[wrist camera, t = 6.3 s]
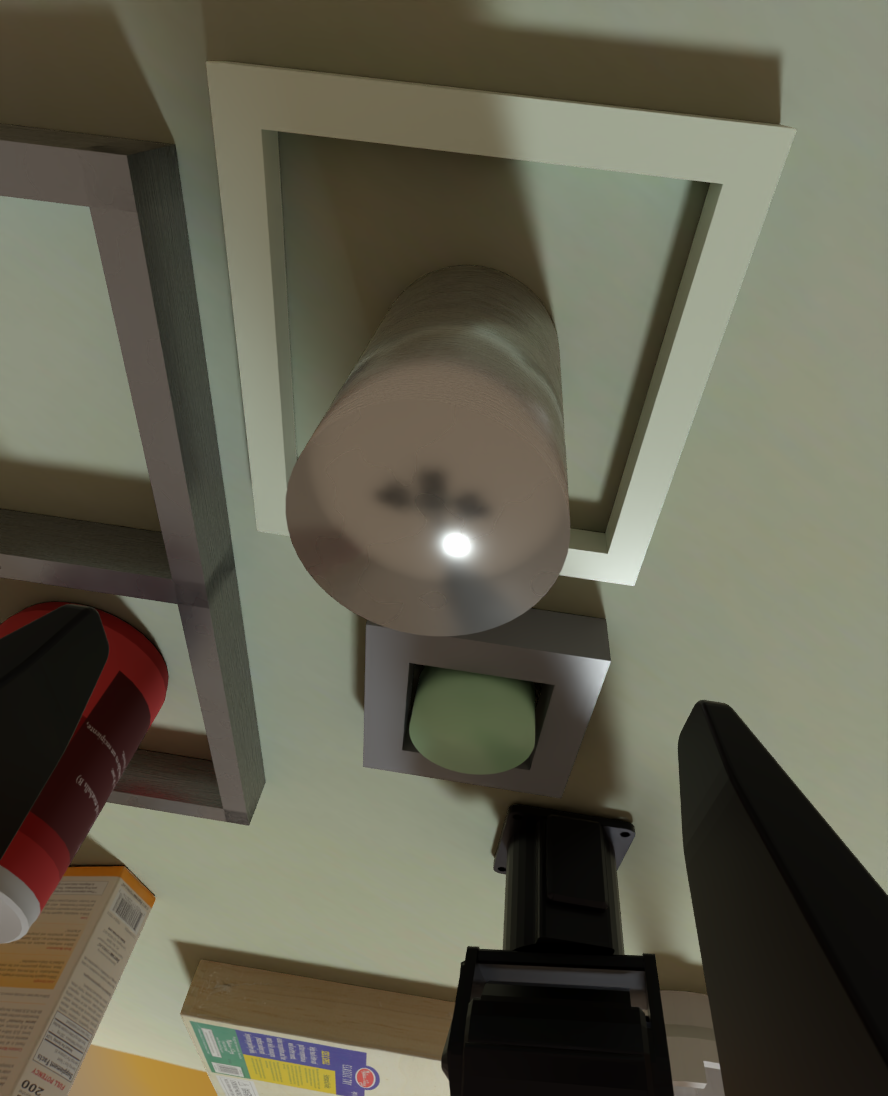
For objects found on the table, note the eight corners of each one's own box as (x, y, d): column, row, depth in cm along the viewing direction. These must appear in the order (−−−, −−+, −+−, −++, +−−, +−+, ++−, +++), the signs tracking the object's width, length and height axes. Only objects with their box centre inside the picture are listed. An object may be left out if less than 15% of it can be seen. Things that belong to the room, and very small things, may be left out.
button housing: (560, 756, 30) (561, 798, 29) (373, 726, 31) (363, 766, 29) (606, 619, 25) (610, 661, 23) (378, 585, 25) (365, 624, 24)
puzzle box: (246, 1075, 74) (452, 1115, 73) (231, 1128, 71) (447, 1170, 69) (202, 947, 52) (496, 1000, 51) (177, 1013, 49) (492, 1072, 47)
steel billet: (541, 453, 21) (541, 653, 14) (376, 430, 21) (292, 616, 14) (577, 278, 18) (601, 423, 11) (381, 253, 18) (275, 380, 11)
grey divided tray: (265, 782, 35) (248, 825, 33) (-7, 738, 36) (-39, 778, 34) (175, 144, 17) (126, 155, 15) (-374, 78, 18) (-489, 80, 16)
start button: (524, 735, 29) (523, 782, 27) (414, 718, 29) (405, 764, 27) (545, 659, 26) (545, 706, 24) (422, 640, 26) (413, 686, 24)
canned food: (-27, 621, 30) (-263, 852, 21) (94, 574, 27) (-119, 819, 18) (90, 722, 34) (-68, 954, 25) (207, 691, 31) (75, 939, 22)
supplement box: (64, 896, 48) (-69, 1128, 37) (26, 863, 45) (-129, 1103, 35) (161, 898, 46) (50, 1143, 35) (127, 863, 43) (-4, 1118, 33)
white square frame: (630, 564, 23) (633, 585, 22) (268, 512, 24) (257, 531, 23) (780, 124, 15) (796, 129, 14) (225, 61, 16) (205, 60, 15)
